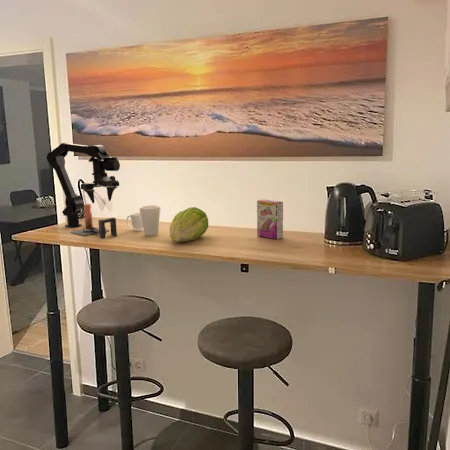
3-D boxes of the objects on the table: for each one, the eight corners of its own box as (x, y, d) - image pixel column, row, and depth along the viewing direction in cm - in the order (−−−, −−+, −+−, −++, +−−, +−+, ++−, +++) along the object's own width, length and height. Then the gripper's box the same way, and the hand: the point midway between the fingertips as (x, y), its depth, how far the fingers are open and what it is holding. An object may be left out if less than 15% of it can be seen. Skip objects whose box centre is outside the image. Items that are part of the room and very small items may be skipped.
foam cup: (148, 237, 221) (146, 209, 218) (137, 234, 228) (135, 207, 225) (165, 234, 227) (164, 206, 224) (154, 231, 234) (153, 204, 231)
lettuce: (152, 230, 205) (178, 214, 198) (178, 212, 226) (202, 198, 219) (170, 258, 207) (196, 244, 199) (194, 238, 228) (218, 224, 221)
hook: (80, 231, 236) (78, 204, 233) (91, 229, 240) (89, 203, 237) (99, 236, 224) (97, 208, 222) (110, 233, 228) (108, 206, 226)
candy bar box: (256, 236, 218) (256, 200, 214) (263, 234, 221) (263, 199, 218) (276, 240, 210) (276, 202, 207) (283, 238, 214) (283, 201, 210)
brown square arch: (99, 237, 222) (98, 219, 221) (114, 235, 228) (112, 217, 226) (102, 238, 221) (101, 220, 219) (116, 235, 226) (115, 218, 224)
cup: (140, 232, 233) (139, 215, 231) (123, 230, 237) (122, 214, 235) (148, 229, 239) (147, 213, 237) (131, 227, 243) (130, 212, 241)
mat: (70, 232, 235) (70, 231, 235) (96, 227, 245) (96, 227, 245) (83, 236, 227) (83, 235, 227) (109, 231, 236) (109, 230, 236)
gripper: (90, 173, 227) (93, 206, 231) (124, 170, 240) (126, 201, 244) (78, 172, 235) (81, 204, 238) (112, 169, 248) (114, 199, 251)
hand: (101, 202), depth 243 cm, fingers open, 9 cm apart
